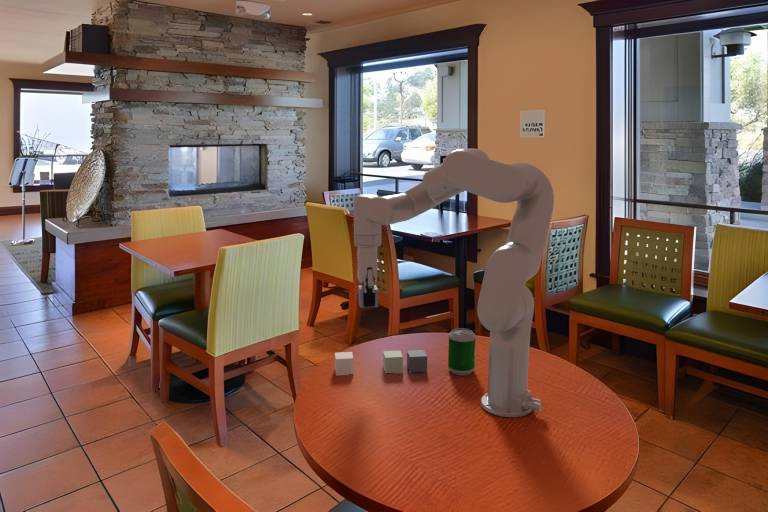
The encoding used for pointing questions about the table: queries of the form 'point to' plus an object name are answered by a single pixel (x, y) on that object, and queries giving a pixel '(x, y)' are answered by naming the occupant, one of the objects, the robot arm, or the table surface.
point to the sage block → (392, 361)
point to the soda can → (461, 351)
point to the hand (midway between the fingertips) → (368, 302)
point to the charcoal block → (417, 361)
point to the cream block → (344, 363)
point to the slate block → (361, 290)
